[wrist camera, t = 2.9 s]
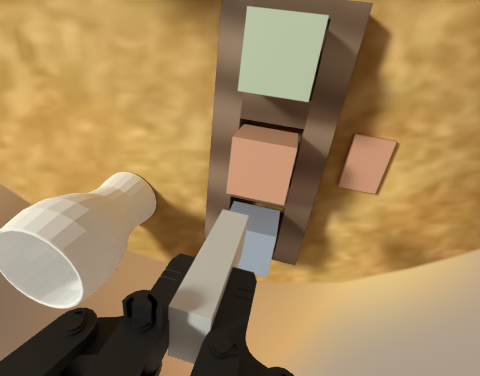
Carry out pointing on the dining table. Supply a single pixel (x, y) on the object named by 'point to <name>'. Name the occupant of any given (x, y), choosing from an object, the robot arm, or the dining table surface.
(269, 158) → the salmon cube
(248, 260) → the blue-grey cube
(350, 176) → the swatch
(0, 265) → the cup
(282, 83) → the sage green cube
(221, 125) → the walnut board
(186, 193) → the dining table surface
